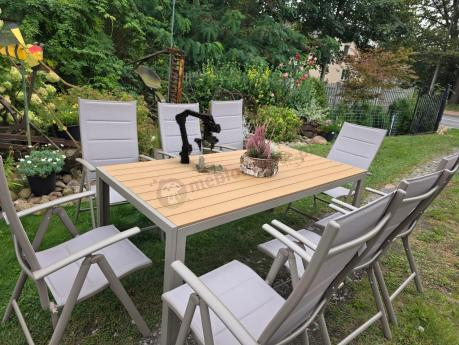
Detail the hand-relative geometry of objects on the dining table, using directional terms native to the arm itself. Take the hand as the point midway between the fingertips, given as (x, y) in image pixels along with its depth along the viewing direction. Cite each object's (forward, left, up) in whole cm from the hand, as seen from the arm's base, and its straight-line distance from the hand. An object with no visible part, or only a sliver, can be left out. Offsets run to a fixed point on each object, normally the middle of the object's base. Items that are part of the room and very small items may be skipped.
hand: (205, 151), depth 228 cm
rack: (-4, -3, -13) cm, 14 cm away
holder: (+9, -3, -13) cm, 16 cm away
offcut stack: (-4, -11, -14) cm, 18 cm away
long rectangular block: (-4, -3, -13) cm, 14 cm away
